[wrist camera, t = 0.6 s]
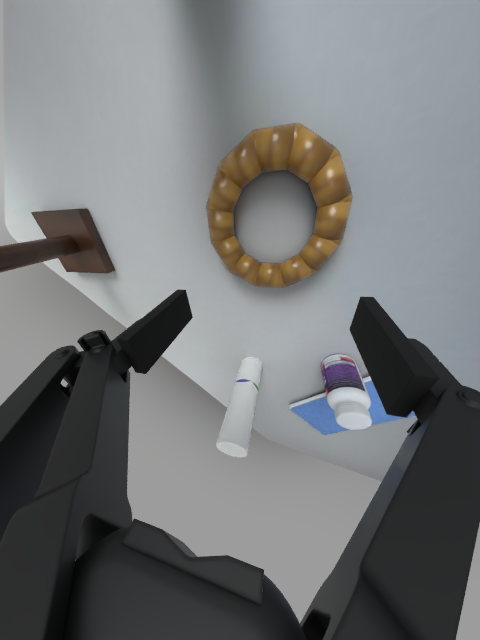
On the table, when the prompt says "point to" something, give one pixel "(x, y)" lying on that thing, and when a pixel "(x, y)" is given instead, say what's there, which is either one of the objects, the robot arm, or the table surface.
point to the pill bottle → (346, 392)
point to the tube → (241, 410)
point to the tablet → (324, 416)
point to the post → (61, 244)
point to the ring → (305, 162)
